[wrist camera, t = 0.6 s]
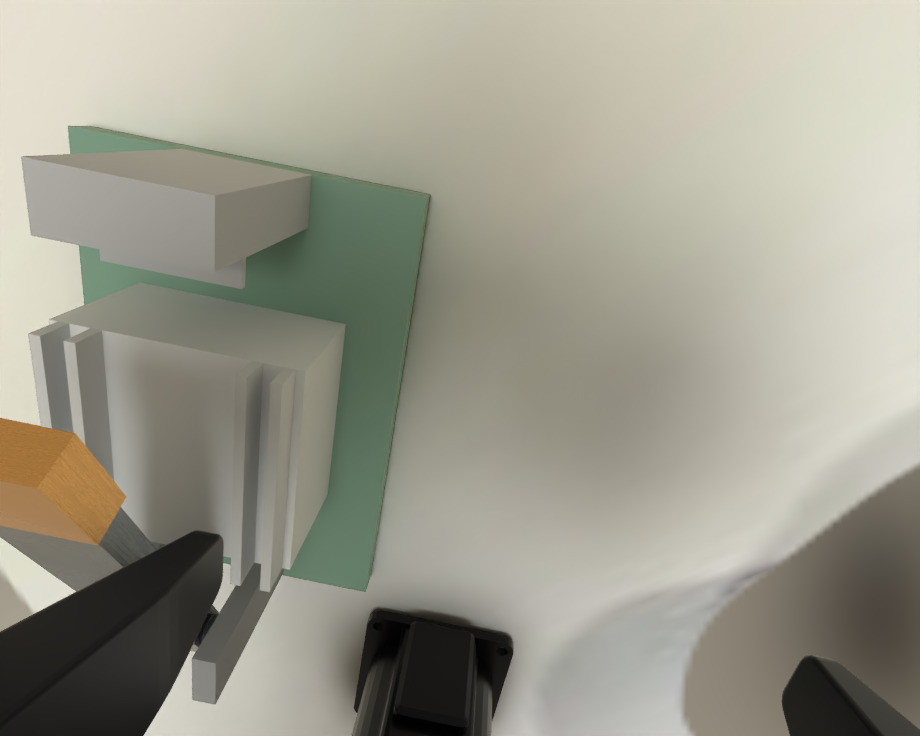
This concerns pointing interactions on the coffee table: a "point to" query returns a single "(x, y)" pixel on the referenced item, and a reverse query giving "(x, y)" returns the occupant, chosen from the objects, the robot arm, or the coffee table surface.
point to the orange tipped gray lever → (66, 509)
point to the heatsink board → (230, 354)
